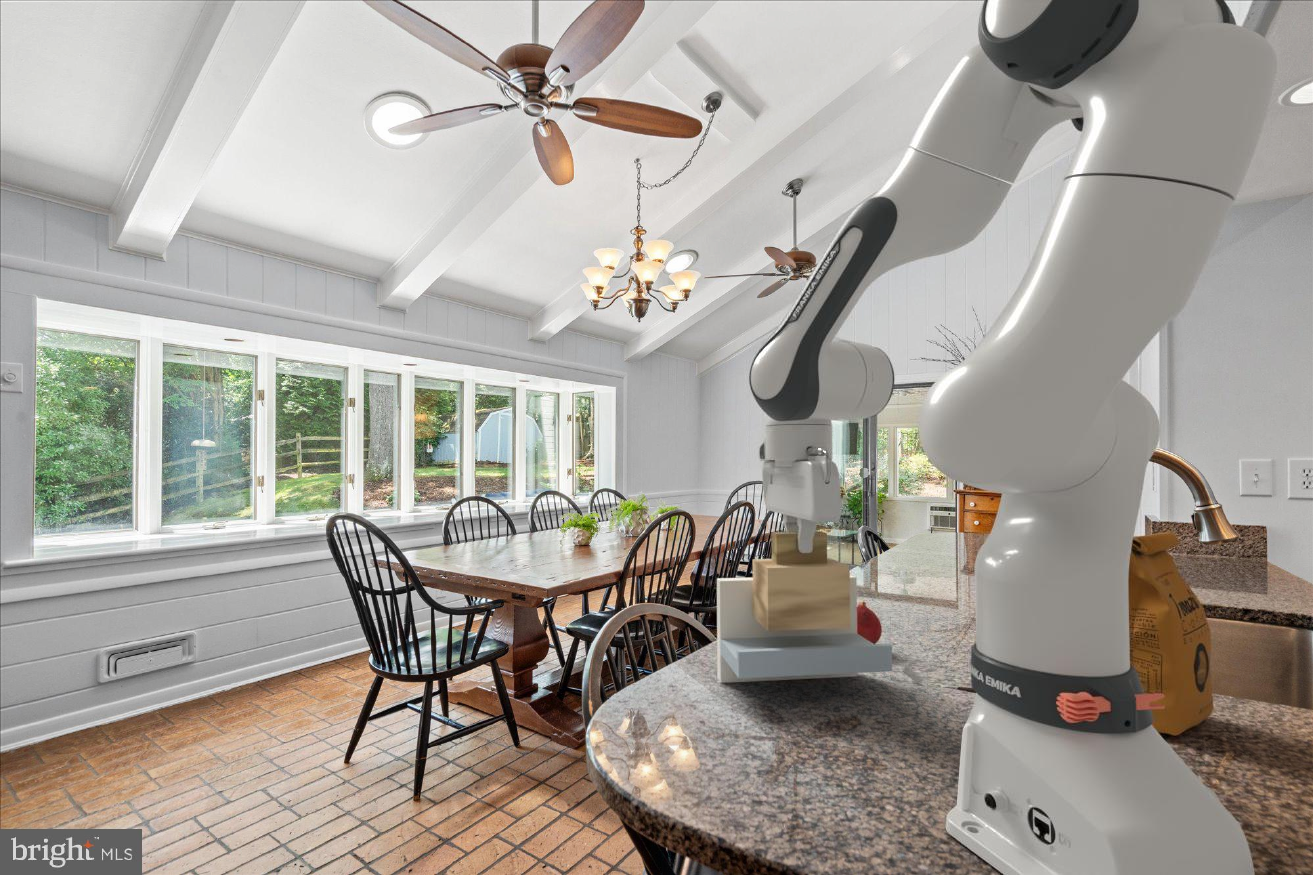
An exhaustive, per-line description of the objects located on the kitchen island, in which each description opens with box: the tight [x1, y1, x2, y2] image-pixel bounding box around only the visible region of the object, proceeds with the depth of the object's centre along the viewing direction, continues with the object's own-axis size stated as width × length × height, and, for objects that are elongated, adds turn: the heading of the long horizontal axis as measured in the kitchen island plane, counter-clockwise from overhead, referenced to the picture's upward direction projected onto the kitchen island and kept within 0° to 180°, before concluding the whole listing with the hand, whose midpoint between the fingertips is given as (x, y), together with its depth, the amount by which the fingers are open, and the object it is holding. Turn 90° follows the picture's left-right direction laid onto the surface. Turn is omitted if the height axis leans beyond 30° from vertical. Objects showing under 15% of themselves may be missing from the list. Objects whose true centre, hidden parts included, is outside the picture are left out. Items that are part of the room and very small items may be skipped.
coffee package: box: [1128, 531, 1214, 736], centre depth 74 cm, size 10×12×22 cm
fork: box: [902, 665, 976, 694], centre depth 84 cm, size 3×16×2 cm, turn 59°
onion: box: [857, 600, 883, 644], centre depth 101 cm, size 6×6×8 cm
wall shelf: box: [716, 574, 893, 684], centre depth 84 cm, size 12×20×14 cm, turn 97°
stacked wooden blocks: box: [752, 531, 851, 631], centre depth 84 cm, size 7×11×12 cm, turn 97°
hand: (799, 550), depth 84 cm, fingers closed on stacked wooden blocks
